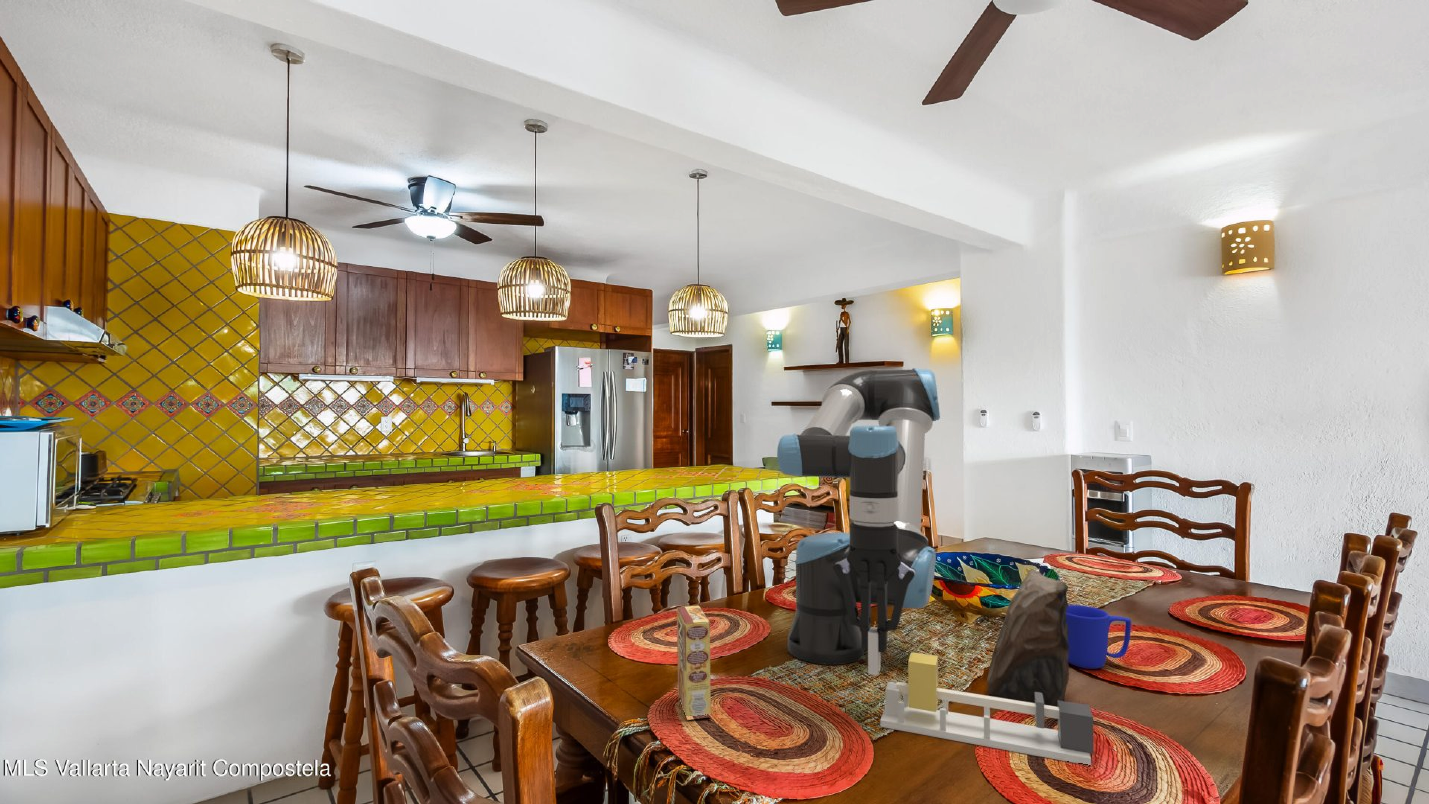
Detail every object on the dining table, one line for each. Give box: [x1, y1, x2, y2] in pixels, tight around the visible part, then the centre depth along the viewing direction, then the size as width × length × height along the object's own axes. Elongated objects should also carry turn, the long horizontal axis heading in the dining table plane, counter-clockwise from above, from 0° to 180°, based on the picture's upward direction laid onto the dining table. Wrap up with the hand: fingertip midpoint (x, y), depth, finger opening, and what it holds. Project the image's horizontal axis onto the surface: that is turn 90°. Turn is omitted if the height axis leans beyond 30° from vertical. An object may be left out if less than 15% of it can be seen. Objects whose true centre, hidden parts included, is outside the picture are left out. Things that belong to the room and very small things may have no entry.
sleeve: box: [907, 652, 939, 712], centre depth 99 cm, size 4×4×7 cm
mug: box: [1066, 604, 1132, 670], centre depth 122 cm, size 8×12×10 cm
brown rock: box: [986, 569, 1070, 707], centre depth 109 cm, size 13×13×20 cm
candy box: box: [676, 605, 712, 716], centre depth 105 cm, size 9×4×15 cm, turn 13°
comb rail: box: [879, 681, 1094, 766], centre depth 96 cm, size 28×7×7 cm, turn 67°
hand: (874, 671), depth 102 cm, fingers closed
